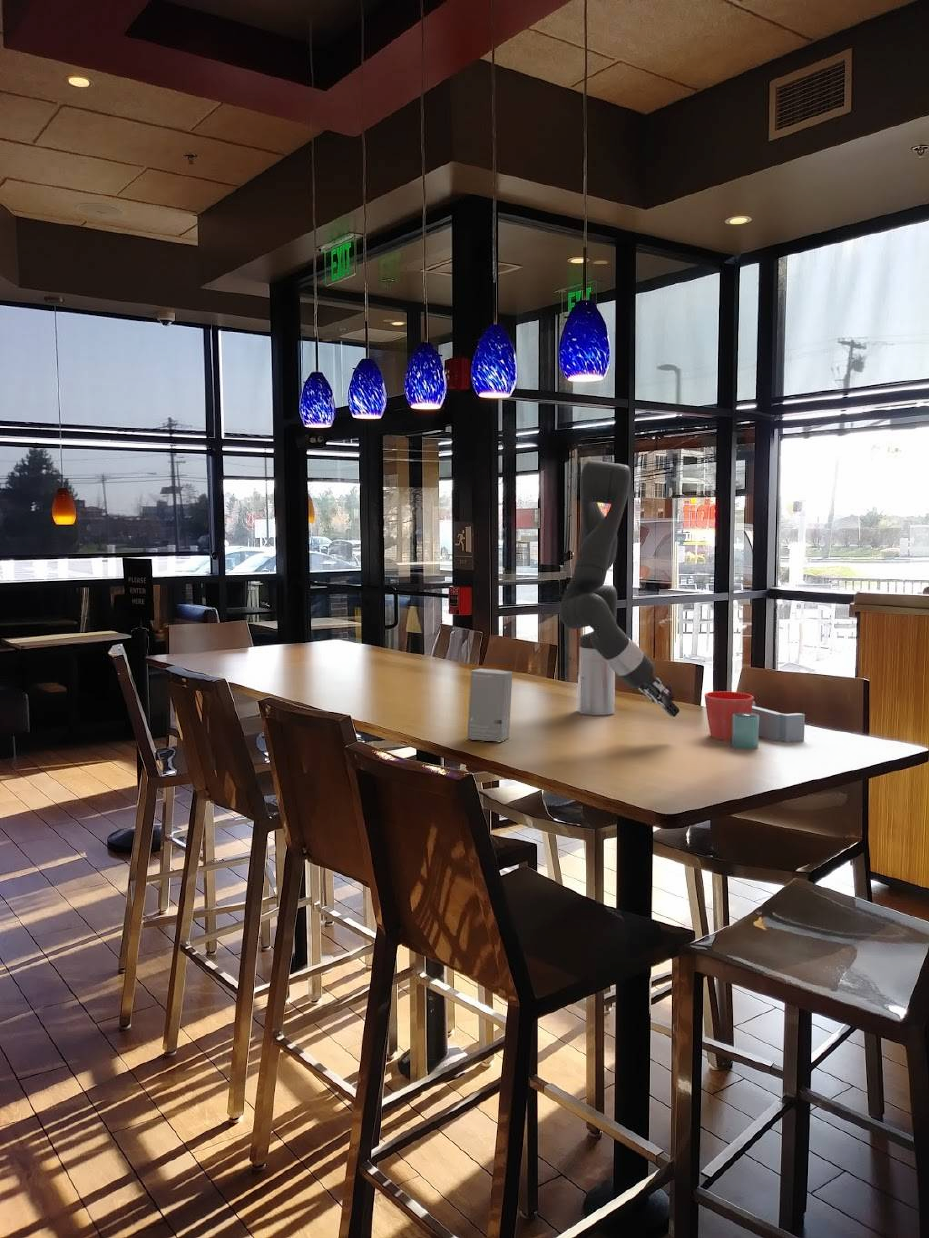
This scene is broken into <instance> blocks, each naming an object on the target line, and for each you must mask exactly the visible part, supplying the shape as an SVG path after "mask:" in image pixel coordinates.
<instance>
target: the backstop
mask: <svg viewBox="0 0 929 1238" xmlns="http://www.w3.org/2000/svg"><path fill="white" fill-rule="evenodd" d="M751 713H754V714H757V715H759V736H760V737H762V738H766V739H769V740H773V741H776V742H777V741H781V742H784V743H792V742H791V741H794V742H804V741H805V724H806V722H805V721H806V720H805V718H806V714H804V713H800V712H795V713H781V712H779V711H776V710H775V711H774V710H770V709H767V708H764V707H763V708H762V707H760V706H759V707H758V706H756V701H754V700H753V705H752V710H751Z"/></svg>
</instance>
